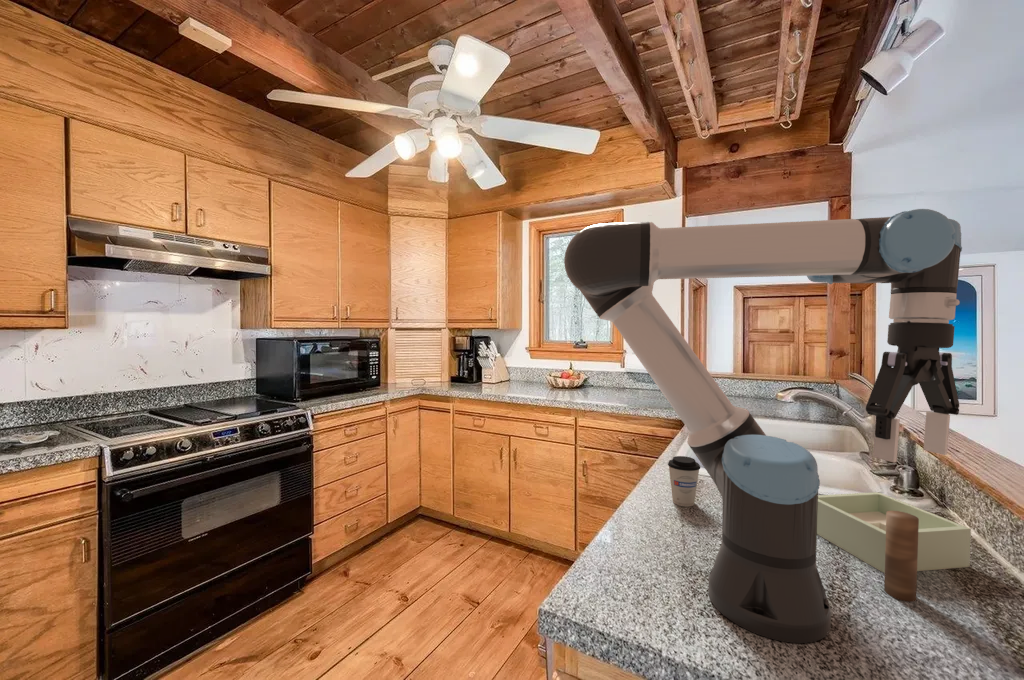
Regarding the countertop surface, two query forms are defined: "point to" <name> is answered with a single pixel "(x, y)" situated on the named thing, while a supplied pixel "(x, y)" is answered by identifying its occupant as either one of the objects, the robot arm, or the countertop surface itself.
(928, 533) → the peg box
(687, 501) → the coffee cup
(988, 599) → the countertop surface
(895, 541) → the peg
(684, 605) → the countertop surface
